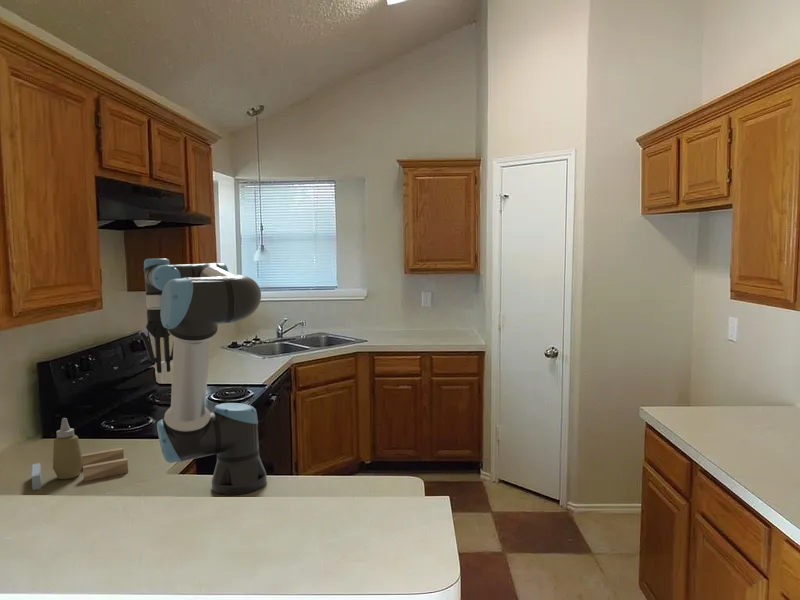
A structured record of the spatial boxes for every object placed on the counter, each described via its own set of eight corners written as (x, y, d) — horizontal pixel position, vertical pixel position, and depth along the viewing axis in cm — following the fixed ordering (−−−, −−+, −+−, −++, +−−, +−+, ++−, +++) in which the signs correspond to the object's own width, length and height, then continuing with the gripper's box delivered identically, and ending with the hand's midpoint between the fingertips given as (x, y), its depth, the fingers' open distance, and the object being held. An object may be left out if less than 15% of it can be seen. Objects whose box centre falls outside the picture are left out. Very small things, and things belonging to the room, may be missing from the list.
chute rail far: (124, 461, 190) (123, 449, 189) (82, 468, 183) (81, 456, 183) (123, 459, 191) (122, 447, 191) (81, 467, 185) (80, 454, 185)
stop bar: (40, 488, 168) (39, 475, 168) (32, 490, 167) (31, 476, 167) (41, 475, 179) (40, 462, 178) (33, 477, 178) (32, 464, 177)
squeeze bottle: (89, 471, 181) (85, 414, 180) (73, 481, 173) (69, 422, 172) (64, 471, 182) (59, 414, 180) (47, 481, 174) (42, 422, 172)
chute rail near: (128, 472, 179) (127, 459, 179) (84, 481, 173) (83, 468, 173) (127, 470, 181) (126, 457, 181) (83, 479, 175) (82, 466, 175)
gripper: (179, 305, 188) (183, 377, 190) (135, 308, 181) (140, 383, 183) (184, 307, 182) (188, 381, 183) (138, 310, 175) (143, 387, 177)
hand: (164, 382), depth 183 cm, fingers closed
